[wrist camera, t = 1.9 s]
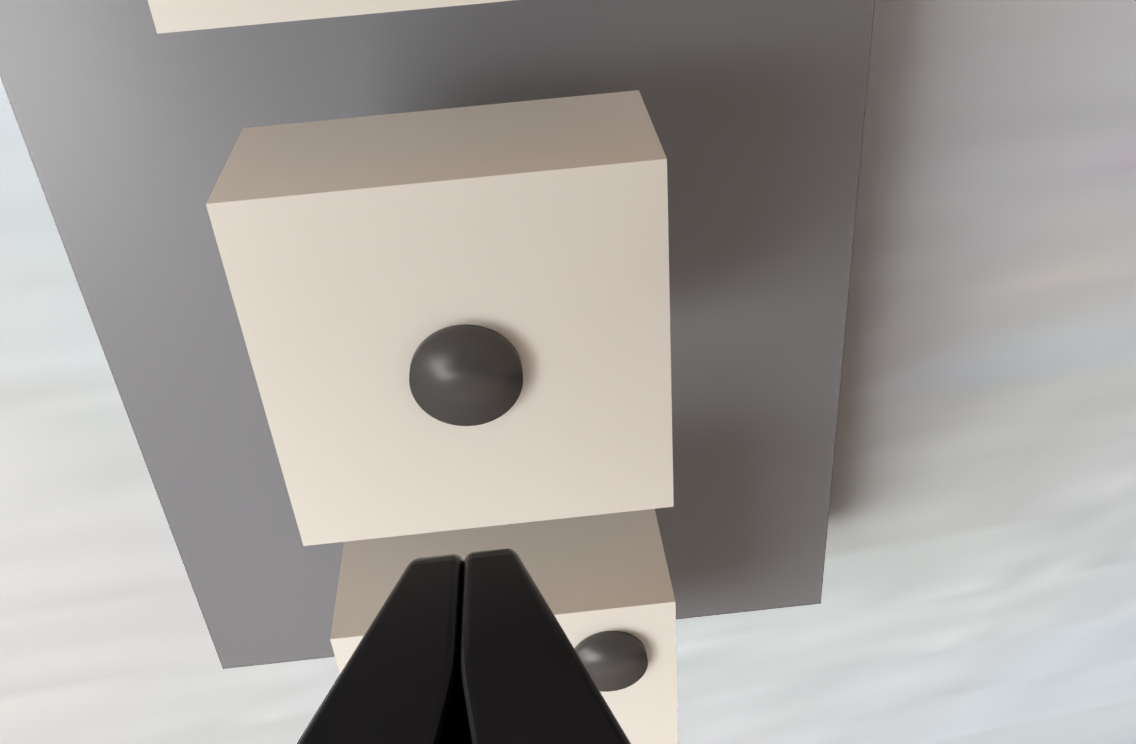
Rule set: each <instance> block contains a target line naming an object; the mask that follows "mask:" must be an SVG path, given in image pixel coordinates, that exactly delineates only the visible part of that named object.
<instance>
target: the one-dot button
mask: <svg viewBox="0 0 1136 744" xmlns="http://www.w3.org/2000/svg"><path fill="white" fill-rule="evenodd" d="M206 207H207V210H208V214H209V217H210V221H211V224H212V228H213V231H214V235H215V238H216V242H217V245H218V249H219V252H220V256H221V259H222V263H223V266H224V270H225V273H226V277H227V280H228V284H229V287H230V291H231V294H232V298H233V301H234V305H235V308H236V312H237V315H238V319H239V322H240V326H241V329H242V333H243V336H244V340H245V343H246V347H247V350H248V354H249V357H250V361H251V364H252V368H253V371H254V375H255V378H256V382H257V385H258V389H259V392H260V396H261V399H262V403H263V406H264V410H265V413H266V417H267V420H268V424H269V427H270V431H271V434H272V438H273V441H274V445H275V448H276V452H277V455H278V459H279V462H280V466H281V469H282V473H283V476H284V480H285V483H286V487H287V490H288V494H289V497H290V501H291V504H292V508H293V511H294V515H295V518H296V522H297V525H298V529H299V532H300V536H301V539H302V543H303V546H309V545H319V544H328V543H337V542H347V541H356V540H366V539H375V538H384V537H394V536H403V535H412V534H422V533H431V532H441V531H450V530H459V529H469V528H478V527H488V526H497V525H506V524H516V523H525V522H534V521H544V520H553V519H563V518H572V517H581V516H591V515H600V514H610V513H619V512H628V511H638V510H647V509H656V508H666V507H674V500H673V448H672V396H671V343H670V291H669V239H668V186H667V158H666V155H665V153H664V150H663V148H662V146H661V143H660V141H659V138H658V136H657V133H656V131H655V128H654V126H653V124H652V121H651V119H650V116H649V114H648V111H647V109H646V106H645V104H644V102H643V99H642V97H641V94H640V92H639V90H635V91H624V92H614V93H604V94H593V95H583V96H572V97H562V98H551V99H541V100H531V101H520V102H510V103H499V104H489V105H478V106H468V107H458V108H447V109H437V110H426V111H416V112H405V113H395V114H385V115H374V116H364V117H353V118H343V119H332V120H322V121H312V122H301V123H291V124H280V125H270V126H259V127H249V128H243V129H242V131H241V134H240V136H239V138H238V140H237V142H236V144H235V146H234V148H233V150H232V152H231V154H230V156H229V158H228V160H227V162H226V164H225V166H224V168H223V170H222V172H221V174H220V176H219V178H218V180H217V182H216V184H215V186H214V188H213V190H212V192H211V194H210V196H209V198H208V200H207V202H206Z"/></svg>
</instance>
